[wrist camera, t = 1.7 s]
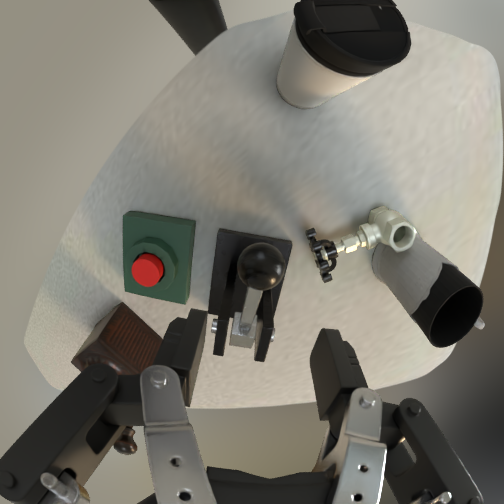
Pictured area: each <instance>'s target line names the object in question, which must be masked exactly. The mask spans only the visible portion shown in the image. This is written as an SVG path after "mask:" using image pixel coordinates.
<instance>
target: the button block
mask: <svg viewBox="0 0 504 504" xmlns="http://www.w3.org/2000/svg"><path fill="white" fill-rule="evenodd" d="M195 224H196V221H193V220H187V219H181V218H174V217H168V216H162V215H155V214H148V213H142V212H135V211H129V212H128V213H126V214H124V215H123V267H124V286H125V292H130V293H134V294H138V295H142V296H147V297H151V298H156V299H161V300H165V301H170V302H175V303H180V304H186V302H187V300H188V297H189V289H190V276H191V264H192V253H193V243H194V233H195ZM146 253H150V254H153V255H155V256H157V257H158V258H159V259H160V260H161V262H162V263H163V267H164V272H163V275H162V276H161V278H160V279H159V281H158V282H157V284H155V285H154V286H151V287H146V286H143V285H141V284H139V283H138V282H137V281H136V280H135V279H134V277H133V275H132V265H133V264H134V262H135V261H136V260H137V259H138V258H139V257H140V256H141V255H143V254H146Z"/></svg>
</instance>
